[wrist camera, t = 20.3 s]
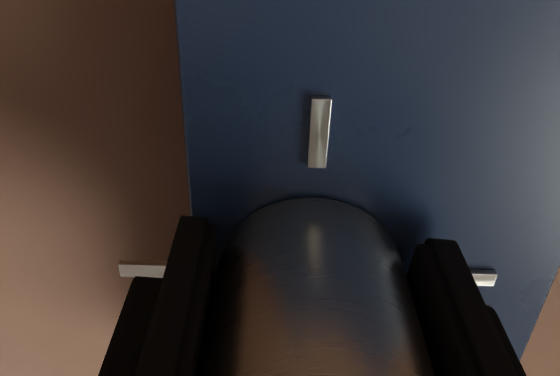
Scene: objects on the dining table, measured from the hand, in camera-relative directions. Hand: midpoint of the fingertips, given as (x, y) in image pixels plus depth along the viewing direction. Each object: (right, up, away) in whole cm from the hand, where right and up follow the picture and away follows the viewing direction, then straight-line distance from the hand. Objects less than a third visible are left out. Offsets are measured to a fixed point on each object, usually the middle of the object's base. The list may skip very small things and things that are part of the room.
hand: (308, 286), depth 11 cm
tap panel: (+1, +2, +3) cm, 4 cm away
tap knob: (0, 0, 0) cm, 0 cm away
